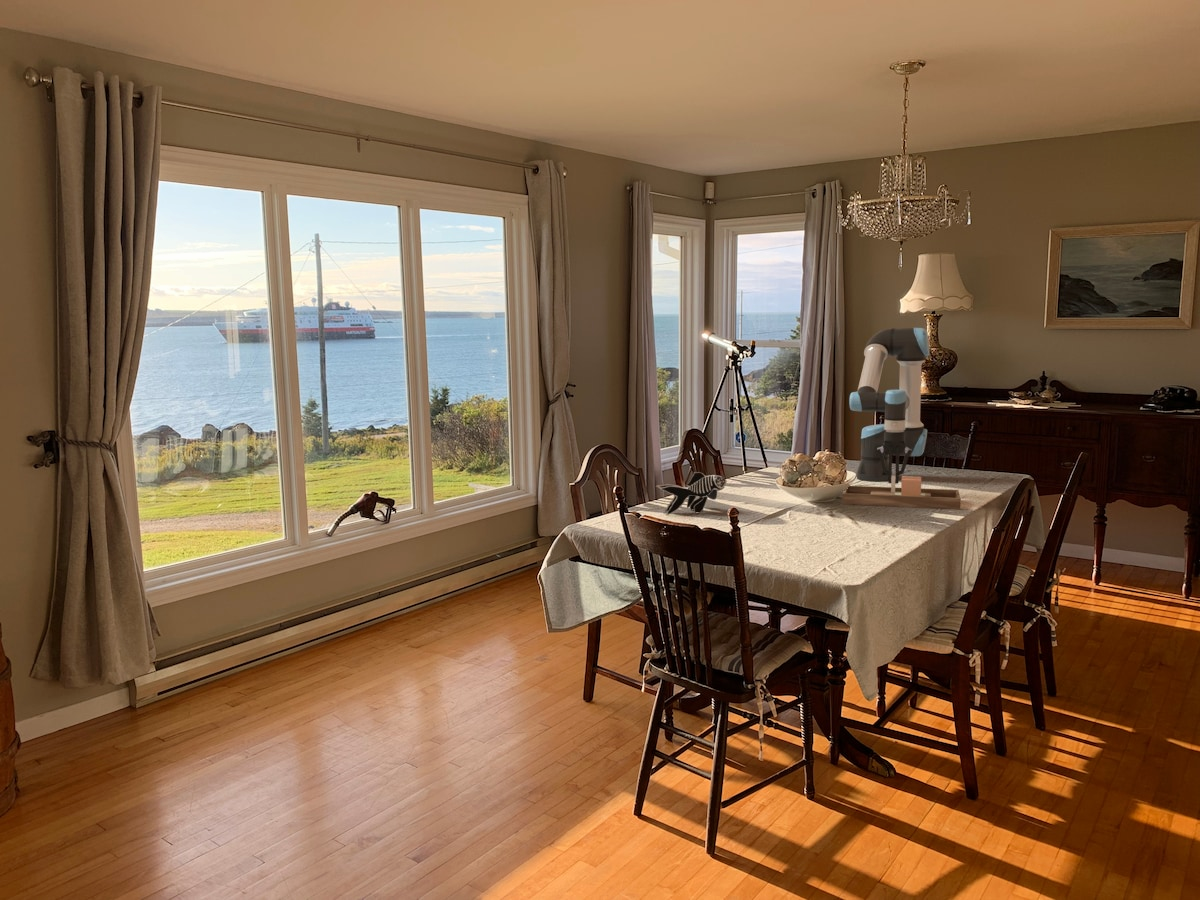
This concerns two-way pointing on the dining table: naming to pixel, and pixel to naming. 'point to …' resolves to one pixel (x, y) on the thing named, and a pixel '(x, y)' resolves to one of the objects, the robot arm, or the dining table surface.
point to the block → (911, 486)
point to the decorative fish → (694, 492)
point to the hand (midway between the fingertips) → (893, 491)
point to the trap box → (901, 497)
